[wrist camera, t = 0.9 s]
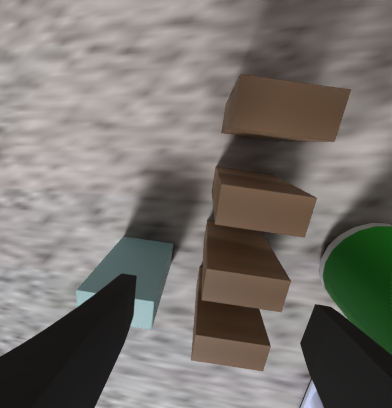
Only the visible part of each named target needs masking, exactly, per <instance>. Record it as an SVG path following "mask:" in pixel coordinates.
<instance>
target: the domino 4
mask: <svg viewBox="0 0 392 408" xmlns="http://www.w3.org/2000/svg"><path fill="white" fill-rule="evenodd" d="M202 274H203V267H200V268H199V274H198V281H197V288H196V302H195V316H194V329H193V343H192V356H191V360H193V361H199V362H206V363H212V364H219V365H225V366H232V367H239V368H245V369H252V370H258V371H263V369H264V366H265V363H266V360H267V357H268V353H269V350H270V347H271V346H270V342H269V339H268V336H267V333H266V329H265V326H264V323H263V320H262V317H261V313H260V310H259V309H258V308H251V307H244V306H238V305H231V304H224V303H218V302H211V301H204V300H202Z"/></svg>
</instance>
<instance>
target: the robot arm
mask: <svg viewBox="0 0 392 408" xmlns="http://www.w3.org/2000/svg"><path fill="white" fill-rule="evenodd" d="M136 279H137V276H136V275H130V274H123V273H122V274H120V275H119V276H117V277H116V278H115V279H113V280H112V281H111V282H110V283H108V284H107V285H106V286H105V287H103V288H102V289H101V290H99V291H98V292H97V293H96V294H94V295H93V296H92V297H90V298H89V299H88V300H86V301H85V302H84V303H82V304H81V305H79V306H78V307H77V308H75V309H74V310H73V311H71V312H70V313H68V314H67V315H65V316H64V317H62V318H61V319H60V320H58V321H57V322H55V323H54V324H52V325H51V326H49V327H48V328H46V329H45V330H43V331H42V332H40V333H39V334H37V335H36V336H34V337H32V338H31V339H29V340H28V341H26V342H24V343H23V344H21V345H19V346H18V347H16V348H14V349H13V350H11V351H9V352H8V353H6V354H4V355H3V356H1V357H0V408H95V405H96V403H97V401H98V399H99V397H100V395H101V393H102V390H103V388H104V386H105V384H106V382H107V380H108V378H109V375H110V373H111V371H112V369H113V367H114V365H115V362H116V360H117V358H118V356H119V354H120V352H121V349H122V347H123V345H124V343H125V340H126V337H127V334H128V331H129V328H130V325H131V322H132V320H133V317H134V305H135V292H136ZM300 344H301V348H302V351H303V355H304V358H305V361H306V364H307V367H308V371H309V374H310V376H311V378H312V381H311V383H310V385H309V388H308V390H307V393H306V395H305V398H304V400H303V402H302V405H301V407H300V408H392V355H391V354H390V353H389V352H387V351H386V350H385V349H384V348H382V347H381V346H380V345H379V344H377V343H376V342H375V341H374V340H373V339H371V338H370V337H369V336H368V335H366V334H365V333H364V332H363V331H361V330H360V329H359V328H358V327H356V326H355V325H354V324H353V323H351V322H350V321H349V320H348V319H346V318H345V317H344V316H343V315H341V314H340V313H339V312H337V311H336V310H334V309H333V308H332V307H329V306H323V305H316V304H315V306H314V309H313V312H312V314H311V317H310V319H309V322H308V325H307V327H306V330H305V332H304V335H303V338H302V340H301V343H300Z"/></svg>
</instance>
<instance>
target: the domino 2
mask: <svg viewBox="0 0 392 408" xmlns="http://www.w3.org/2000/svg"><path fill="white" fill-rule="evenodd" d="M212 199H213V210H214V221H215V224H216V225H223V226H229V227H236V228H243V229H250V230H257V231H264V232H271V233H277V234H284V235H291V236H298V237H305V235H306V232H307V229H308V225H309V222H310V219H311V216H312V213H313V209H314V206H315V203H316V200H317V198H316V197H314V196H312V195H310V194H308V193H306V192H304V191H303V190H301V189H299V188H297V187H295V186H293V185H291V184H289V183H287V182H285V181H283V180H281V179H279V178H277V177H276V176H274V175H270V174H263V173H256V172H249V171H242V170H235V169H228V168H221V167H216V169H215V175H214V182H213V188H212Z"/></svg>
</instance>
